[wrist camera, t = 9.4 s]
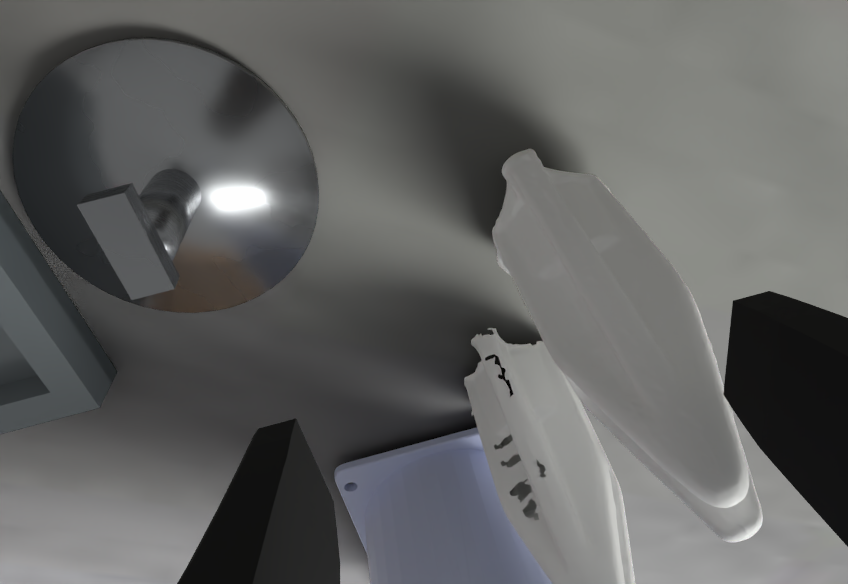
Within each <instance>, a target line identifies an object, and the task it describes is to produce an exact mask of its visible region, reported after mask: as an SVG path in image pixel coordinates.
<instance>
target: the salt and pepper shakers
mask: <svg viewBox="0 0 848 584" xmlns="http://www.w3.org/2000/svg"><path fill="white" fill-rule="evenodd" d="M502 175H503V176H504V178H505V179H506V181H507V188H506V195H505V198H504V203H503V207H502V210H501V212H500V215H499V217H498V218H497V220H496V224H495V226H494V227H493V230H492V236H493V241H494V245H495V248H497V262H498V265H499V266H500V267H501V268H502V269H503V270H504V271H505V272H507V273H508V274H509V275H511V277H512V279H513V281H514V283H515V285H516V287H517V289H518V291H519V293H520V295H521V297H522V299H523V302H524V304H525V305H526V307H527V309H528V312H529V314H530V316H531V318H532V320H533V322H534V324H535V326H536V328H537V330H538V332H539V334H540V336H541V338H542V340H543V341H537V342H536V344H535V345H533V346H532V345H531V344H530V343H529V344H522V345H520V344H514V345H512V344H511V343H510V344H507V343H505V342H504V340H502V338H500V337H499V335H498V333H497V331H496V328H495V329H493V328H488V329H487V330H492V331H493V333H494V334H493V335H490V334H487V335H483V336H482V334H481V333H480V335H478V334H476V336H475V337H474V338H473V339H472V340H471V345H472V346H473V347H475V349H476V350H477V352H478V353H479V354H480V357H481V362H479V363H478V367H477V368H476V371H475V372H474V373H473V374H471V375H469V376H467V377H465V378H464V380H465V381H464V383H465V384H464V386H466V388H467V392H468V396H469V400H470V404H471V407H472V412H471V413H472V416H473V414H474V418H475V421H476V425H477V429H478V432H479V435H480V439H481V442H482V445H483V449H484V452H485V455H486V458H487V462H488V465H489V468H490V471H491V474H492V478H493V481H494V484H495V487H496V491H497V494H498V497H499V500H500V502H501V505H502V507H503V510H504V512H505V514H506V516H507V518H508V519H509V521H510V522H511V524H512V525H513V527H514V528H515V530H516V532H517V533H518V535H519V536H520V538H521V539H522V540H523V542H524V543H525V545H526V546H527V548H528V549H529V551H530V552H531V554H532V555H533V557H534V558H535V560H536V561H537V562H538V564H539V565H540V567H541V568H542V569H543V571H544V572H545V574H546V575H547V577H548V578H549V579H550V581H551V582H552V583H553V584H635V577H634V570H633V563H632V556H631V549H630V542H629V535H628V529H627V522H626V515H625V508H624V502H623V496H622V492H621V488H620V485H619V483H618V480H617V478H616V476H615V473H614V471H613V469H612V467H611V465H610V462H609V460H608V458H607V456H606V454H605V452H604V450H603V448H602V445H601V443H600V441H599V439H598V437H597V435H596V433H595V431H594V428H593V426H592V424H591V422H590V420H589V418H588V416H587V414H586V412H585V410H584V408H583V406H582V403H583V404H584V406H585V407H586V408H587V409H588V410H589V411H590V412H591V413H592V415H593V416H594V417H595V418H596V419H597V420H598V421H599V422H601V423H602V424H603V425H604V427H605V428H606V429H607V430H608V431H610V432H611V434H612V435H614V436H615V437H616V438H617V439H618V440H619V441H620V442H621V444H623V445H624V446H625V447H626V448H627V449H628V450H629V451H630V452H631V453H632V454H633V455H634V456H635V457H636V458H637V459H638V460H639V461H640V462H641V463H642V464H643V465H644V466H645V467H646V468H647V469H648V470H649V471H650V472H651V473H652V474H653V475H655V476H656V477H657V478H658V479H659V480H660V481H661V482H662V483H663V484H664V485H665V486H666V487H667V488H668V489H669V490H670V491H672V492H673V493H674V494H675V495H676V496H677V497H678V498H679V499H680V500H681V501H682V502H683V503H684V504H685V505H686V506H688V507H689V508H690V509H691V510H692V511H693V512H694V513H695V514H696V515H697V516H698V517H699V518H700V519H701V520H702V521H703V522H704V523H705V524H706V525H707V526H708V527H709V528H710V529H711V530H712V531H713V532H714V533H715V534H716V535H718V536H719V537H720V538H721V539H723V540H725V541H727V542H738V541H743V540H746V539H748V538H750V537H751V536H753V535H754V534H755V533H756V532H757V531H758V530H759V529H760V527H761V525H762V520H763V516H762V510H761V505H760V502H759V499H758V496H757V493H756V490H755V487H754V483H753V479H752V476H751V473H750V470H749V467H748V463H747V460H746V456H745V453H744V449H743V447H742V444H741V441H740V438H739V434H738V431H737V428H736V424H735V421H734V417H733V411H732V409H731V408H730V406H729V402H728V401H727V399H726V398H725V396H724V395H723V394H724V386H723V383H722V379H721V375H720V372H719V369H718V366H717V361H716V358H715V355H714V353H713V350H712V344H711V342H710V341H709V338H708V335H707V333H706V330H705V327H704V324H703V321H702V318H701V314H700V312H699V309H698V307H697V305H696V302H695V300H694V298H693V295H692V293H691V292H690V290H689V288H688V287H687V285H686V284H685V282H684V281H683V279H682V278H681V276H680V275H679V274H678V272H677V271H676V270H675V268H674V267H673V265H672V264H671V263H670V261H669V260H667V259H666V257H665V256H664V254H663V253H662V252H661V251H660V250H659V248H658V247H657V246H656V245H655V244H654V242H653V241H652V240H651V239H650V237H649V236H648V235H647V233H646V232H645V231H644V230H642V228H641V227H640V226H639V225H638V224H637V222H636V221H635V220H634V219H633V218H632V216H631V215H630V214H629V213H628V212H627V211H626V210H625V208H624V207H623V206H622V205H621V204H620V203H619V201H618V200H617V199H616V198H615V197H614V195H613V194H612V193H611V191H610V190H609V189H608V187H607V186H606V185H605V184H604V183H603V182H602V181H601V180H600V179H599V178H598V177H597V176H595V175H592V174H584V173H573V172H566V171H559V170H554V169H550V168H546V167H544V166H543V165H542V162H541V160H540V159H539V158H538V157H537V154H536V152H535V151H534V150H533V149H527V150H524V151H520V152H518V153H515V154H514V155H512V156H511V157H510V158H508V159H507V160H506V162H505V163H504V165H503V167H502ZM493 354H495V355H496V356H498V357H499V360H500V364H501V367H502V368H505V370H506V372H505V374H504V375H505V379H506V380H509V381H510V384H511V389H512V391H513V395H512V396H511V397H510V393H509V392H510V389H509V388H508V385H507V384H506V382H505V381H504V380H503V379H499V378H498V375H499V374H500V375H502V373H501V369H500V366H499V365H498V364H495V357H494V358H493V359H492V358H491V359H489V360H487V361H486V360H485V357H487V356H490V355H493ZM580 400H581V401H580ZM581 402H582V403H581Z"/></svg>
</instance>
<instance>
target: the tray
mask: <svg viewBox="0 0 848 584" xmlns="http://www.w3.org/2000/svg"><path fill="white" fill-rule="evenodd" d="M116 373H117V371H116V369H115V368H114V366H113V365H112V363H111V362H110V360H109V358H108V357H107V355H106V354H105V352H104V351H103V349H102V348H101V346H100V344H99V343H98V341H97V340H96V338H95V337H94V335H93V334H92V332H91V331H90V329H89V327H88V326H87V324H86V323H85V321H84V320H83V318H82V317H81V315H80V313H79V312H78V310H77V309H76V307H75V306H74V304H73V303H72V301H71V300H70V298H69V296H68V295H67V293H66V292H65V290H64V289H63V287H62V286H61V284H60V282H59V281H58V279H57V278H56V276H55V275H54V273H53V272H52V270H51V269H50V267H49V265H48V264H47V262H46V261H45V259H44V258H43V256H42V255H41V253H40V251H39V250H38V248H37V247H36V245H35V244H34V242H33V241H32V239H31V238H30V236H29V234H28V233H27V231H26V230H25V228H24V227H23V225H22V224H21V222H20V220H19V219H18V217H17V216H16V214H15V213H14V211H13V210H12V208H11V207H10V205H9V203H8V202H7V200H6V199H5V197H4V196H3V194H2V193H1V191H0V434H3V433H7V432H11V431H15V430H19V429H22V428H26V427H30V426H34V425H37V424H41V423H45V422H49V421H52V420H56V419H60V418H64V417H67V416H71V415H75V414H79V413H82V412H86V411H90V410H94V409H98V408H100V407H101V405H102V402H103V400H104V398H105V396H106V394H107V392H108V390H109V388H110V386H111V384H112V382H113V379H114V377H115V375H116Z"/></svg>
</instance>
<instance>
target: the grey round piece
mask: <svg viewBox="0 0 848 584" xmlns="http://www.w3.org/2000/svg"><path fill="white" fill-rule="evenodd" d="M13 164H14V175H15V180H16V184H17V188H18V192H19V195H20V198H21V200H22V203H23V205H24V208H25V210H26V213H27V214H28V216H29V218H30V220H31V222H32V224H33V225H34V227H35V229H36V230H37V232H38V233H39V234H40V236H41V237H42V239H43V240H44V241H45V243H46V244H47V245H48V246H49V248H50V249H51V250H52V251H53V252H54V253H55V254H56V255H57V256H58V257H59V259H60V260H62V261H63V262H64V263H65V264H66V265H67V266H68V267H70V268H71V269H72V270H73V271H74V272H75V273H77V274H78V275H80V276H81V277H82V278H84V279H85V280H87V281H88V282H89V283H91V284H93V285H94V286H96V287H98V288H100V289H101V290H103V291H105V292H107V293H109V294H111V295H113V296H116V297H118V298H120V299H122V300H125V301H128V302H131V303H134V304H137V305H140V306H143V307H148V308H152V309H157V310H162V311H171V312H185V313H197V312H208V311H216V310H221V309H225V308H230V307H233V306H236V305H239V304H242V303H245V302H247V301H249V300H251V299H254V298H256V297H258V296H260V295H261V294H263V293H265V292H266V291H268V290H269V289H271V288H273V287H274V286H275V285H276V284H277V283H279V282H280V281H281V280H282V279H283V278H285V277H286V275H287V274H288V273H289V272H290V271H291V270H292V269H293V268H294V267H295V265H296V264H297V263H298V261H299V260H300V258H301V257H302V255H303V254H304V252H305V250H306V248H307V246H308V244H309V242H310V240H311V237H312V234H313V231H314V228H315V224H316V219H317V213H318V198H319V187H318V177H317V170H316V166H315V162H314V158H313V154H312V151H311V149H310V146H309V144H308V141H307V138H306V136H305V134H304V132H303V131H302V129H301V127H300V125H299V123H298V122H297V120H296V118H295V117H294V116H293V114H292V113H291V111H290V110H289V109H288V107H287V106H286V105H285V103H284V102H283V101H282V100H281V99H280V98H279V97H278V96H277V95H276V94H275V92H274V91H273V90H272V89H271V88H270V87H268V86H267V85H266V84H265V83H264V82H263V81H261V80H260V79H259V78H258V77H257V76H256V75H254V74H253V73H251V72H250V71H248V70H247V69H245V68H244V67H242V66H241V65H239V64H238V63H236V62H234V61H232V60H230V59H228V58H227V57H225V56H223V55H221V54H219V53H217V52H214V51H211V50H208V49H206V48H203V47H200V46H198V45H194V44H190V43H186V42H181V41H177V40H171V39H161V38H129V39H123V40H117V41H112V42H108V43H105V44H101V45H98V46H95V47H92V48H89V49H87V50H85V51H83V52H81V53H79V54H77V55H75V56H73V57H71V58H69V59H67V60H65V61H64V62H63V63H61V64H60V65H59V66H57V67H56V68H55V69H53V70H52V71H51V72H49V74H48V75H47V76H46V77H45V78H44V79H43V80H42V81H41V82H40V83H39V84H38V85H37V86H36V88H35V89H34V91H33V92H32V94H31V95H30V97H29V98H28V100H27V101H26V103H25V105H24V108H23V110H22V112H21V115H20V117H19V119H18V123H17V128H16V132H15V136H14V146H13Z"/></svg>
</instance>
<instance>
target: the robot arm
mask: <svg viewBox="0 0 848 584" xmlns="http://www.w3.org/2000/svg"><path fill="white" fill-rule="evenodd" d="M723 395H724V396H725V398H726V399H727V401H728V402H729V404H730V405H731V407H732V408H733V410H734V411H735V413H736V414H737V416H738V417H739V419H740V420H741V422H742V424H743V425H744V426H745V428H746V429H747V431H748V432H749V433H750V435H751V436H752V438H753V439H754V440H755V442H756V443H757V445H758V446H759V447H760V449H761V450H762V451H763V452H764V453H765V454H766V456H767V457H768V458H769V459H770V460H771V461H772V462H773V464H774V465H775V466H776V467H777V468H778V469H779V470H780V471H781V473H782V474H783V475H784V476H785V477H786V478H787V479H788V481H789V482H790V483H791V484H792V485H793V486H794V487H795V488H796V490H797V491H798V492H799V493H800V494H801V495H802V496H803V497H804V498H805V500H806V501H807V502H808V503H809V504H810V505H811V506H812V507H813V508H814V510H815V511H816V512H817V513H818V514H819V515H820V516H821V517H822V518H823V520H824V521H825V522H826V523H827V524H828V525H829V526H830V527H831V529H832V530H833V531H834V532H835V533H836V534H837V535H838V536H839V537H840V539H841V540H842V541H843V542H844V543H845V544H846V545H847V546H848V318H846V317H843V316H841V315H838V314H835V313H833V312H830V311H827V310H824V309H821V308H819V307H816V306H813V305H810V304H807V303H805V302H802V301H799V300H796V299H793V298H790V297H787V296H784V295H780V294H777V293H774V292H770V291H768V292H764V293H761V294H757V295H753V296H749V297H746V298H742V299H738V300H735V301H733V306H732V316H731V326H730V335H729V345H728V355H727V365H726V374H725V384H724V394H723ZM334 475H335V482H336V485H337V487H338V489H339V491H340V494H341V496H342V498H343V501H344V503H345V505H346V508H347V510H348V512H349V514H350V517H351V519H352V521H353V524H354V526H355V528H356V530H357V533H358V535H359V537H360V540H361V542H362V544H363V547H364V549H365V551H366V553H367V556H368V565H369V577H370V584H553V583H552V582H551V581H550V579H549V578H548V577H547V575H546V574H545V572H544V571H543V569H542V568H541V567H540V565H539V564H538V562H537V561H536V560H535V558H534V557H533V555H532V554H531V552H530V551H529V549H528V548H527V546H526V545H525V543H524V542H523V540H522V539H521V538H520V536H519V535H518V533H517V532H516V530H515V528H514V527H513V525H512V524H511V522H510V521H509V519H508V518H507V516H506V514H505V512H504V510H503V507H502V505H501V502H500V500H499V497H498V494H497V491H496V487H495V484H494V481H493V478H492V474H491V471H490V468H489V465H488V462H487V458H486V455H485V452H484V449H483V445H482V442H481V439H480V435H479V432H478V429H477V427H476V428H472V429H469V430H465V431H461V432H458V433H454V434H450V435H447V436H443V437H439V438H436V439H432V440H428V441H425V442H421V443H417V444H414V445H410V446H406V447H402V448H399V449H395V450H391V451H388V452H384V453H380V454H377V455H373V456H369V457H366V458H362V459H358V460H355V461H351V462H347V463H344V464H341V465H339V466H338V467H337V468H336V469H335V472H334ZM350 482H353V483H352V484H348V483H350ZM177 584H340V559H339V548H338V538H337V528H336V519H335V510H334V502H333V499H332V497H331V495H330V493H329V491H328V488H327V486H326V484H325V482H324V479H323V477H322V475H321V473H320V471H319V468H318V466H317V464H316V462H315V460H314V457H313V455H312V453H311V451H310V448H309V446H308V444H307V442H306V440H305V437H304V435H303V433H302V431H301V428H300V426H299V424H298V422H297V420H296V419H293V420H289V421H285V422H282V423H278V424H274V425H270V426H267V427H263V428H259V429H258V430H257V432H256V433H255V435H254V436H253V438H252V441H251V443H250V445H249V447H248V449H247V451H246V453H245V455H244V457H243V459H242V461H241V463H240V465H239V467H238V469H237V471H236V473H235V475H234V477H233V479H232V481H231V483H230V486H229V488H228V490H227V492H226V493H225V495H224V497H223V499H222V501H221V503H220V505H219V507H218V509H217V511H216V513H215V515H214V517H213V519H212V521H211V523H210V525H209V527H208V528H207V530H206V532H205V534H204V536H203V538H202V540H201V542H200V544H199V545H198V547H197V549H196V551H195V553H194V555H193V557H192V559H191V560H190V562H189V564H188V566H187V568H186V569H185V571H184V573H183V575H182V576H181V578H180V580H179V582H178V583H177Z"/></svg>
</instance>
